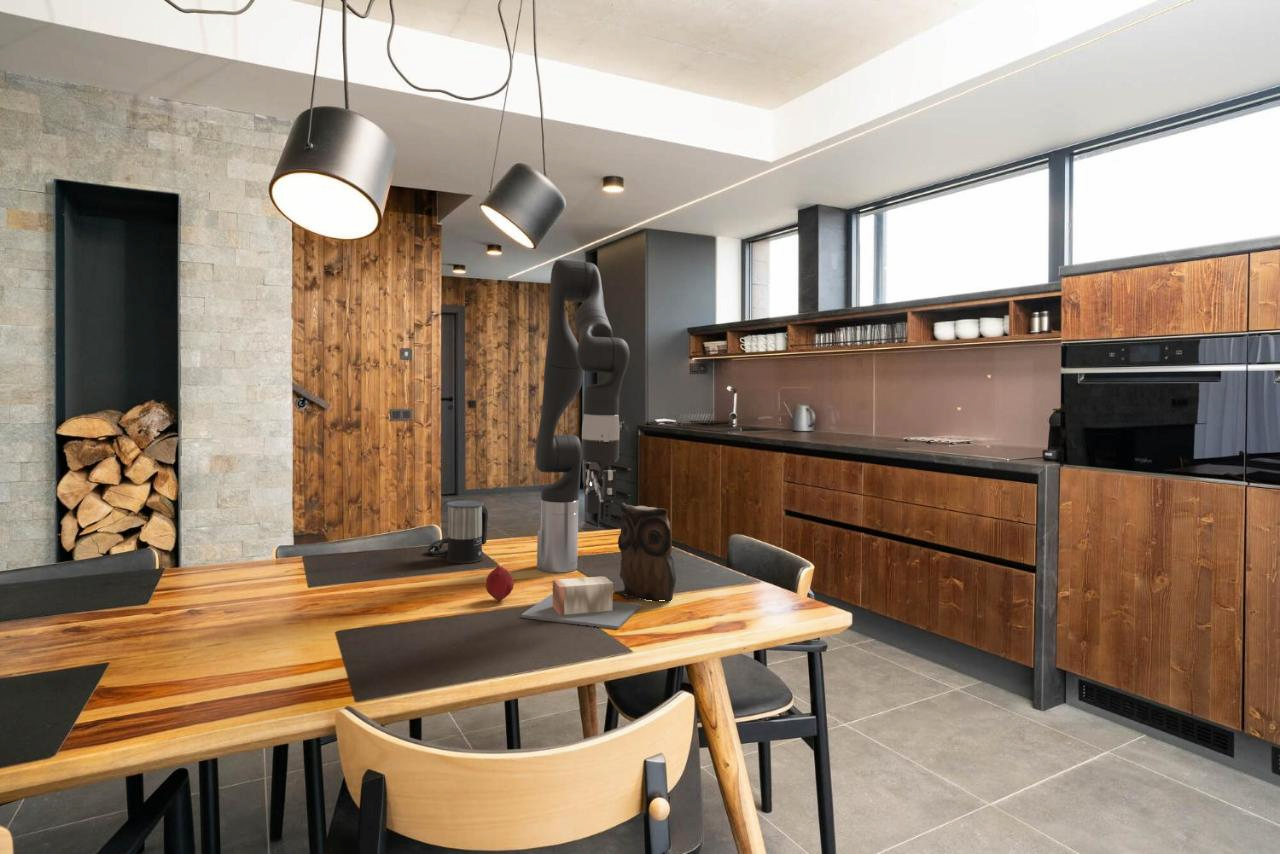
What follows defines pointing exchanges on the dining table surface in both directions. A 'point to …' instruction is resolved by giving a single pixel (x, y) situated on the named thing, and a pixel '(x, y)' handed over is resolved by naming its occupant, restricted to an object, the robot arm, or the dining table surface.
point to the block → (582, 595)
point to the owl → (646, 553)
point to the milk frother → (464, 532)
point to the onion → (499, 583)
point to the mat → (583, 614)
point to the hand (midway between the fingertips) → (598, 517)
